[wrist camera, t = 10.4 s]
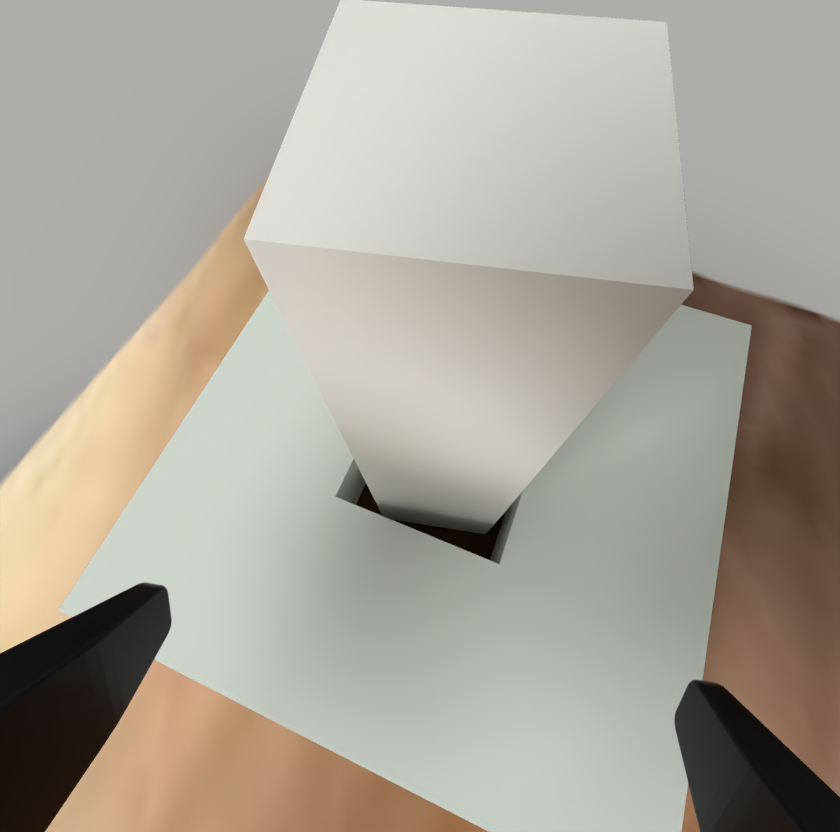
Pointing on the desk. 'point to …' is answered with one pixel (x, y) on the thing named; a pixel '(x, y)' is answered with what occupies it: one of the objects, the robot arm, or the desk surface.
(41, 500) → the desk surface
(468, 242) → the plug
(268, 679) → the socket
